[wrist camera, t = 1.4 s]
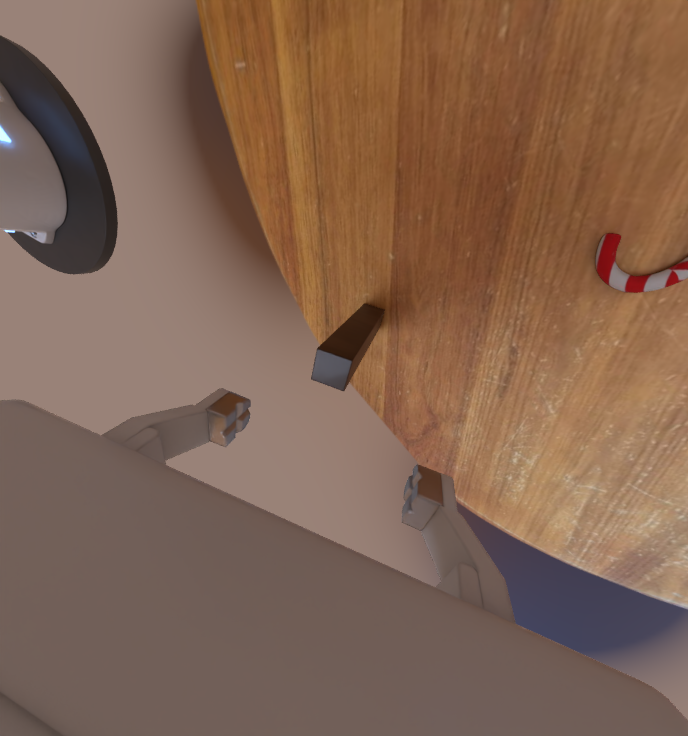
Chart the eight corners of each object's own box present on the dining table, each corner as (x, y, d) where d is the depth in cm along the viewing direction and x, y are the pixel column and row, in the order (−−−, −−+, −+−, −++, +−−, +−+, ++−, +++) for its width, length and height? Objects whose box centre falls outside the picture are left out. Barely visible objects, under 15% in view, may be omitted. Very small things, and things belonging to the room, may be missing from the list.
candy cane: (858, -27, 12) (727, 285, 18) (822, -4, 14) (710, 283, 19) (647, 44, 15) (592, 298, 21) (632, 59, 16) (584, 296, 22)
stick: (358, 323, 29) (310, 379, 17) (364, 303, 28) (316, 348, 16) (378, 329, 29) (343, 391, 16) (384, 309, 27) (352, 360, 15)
